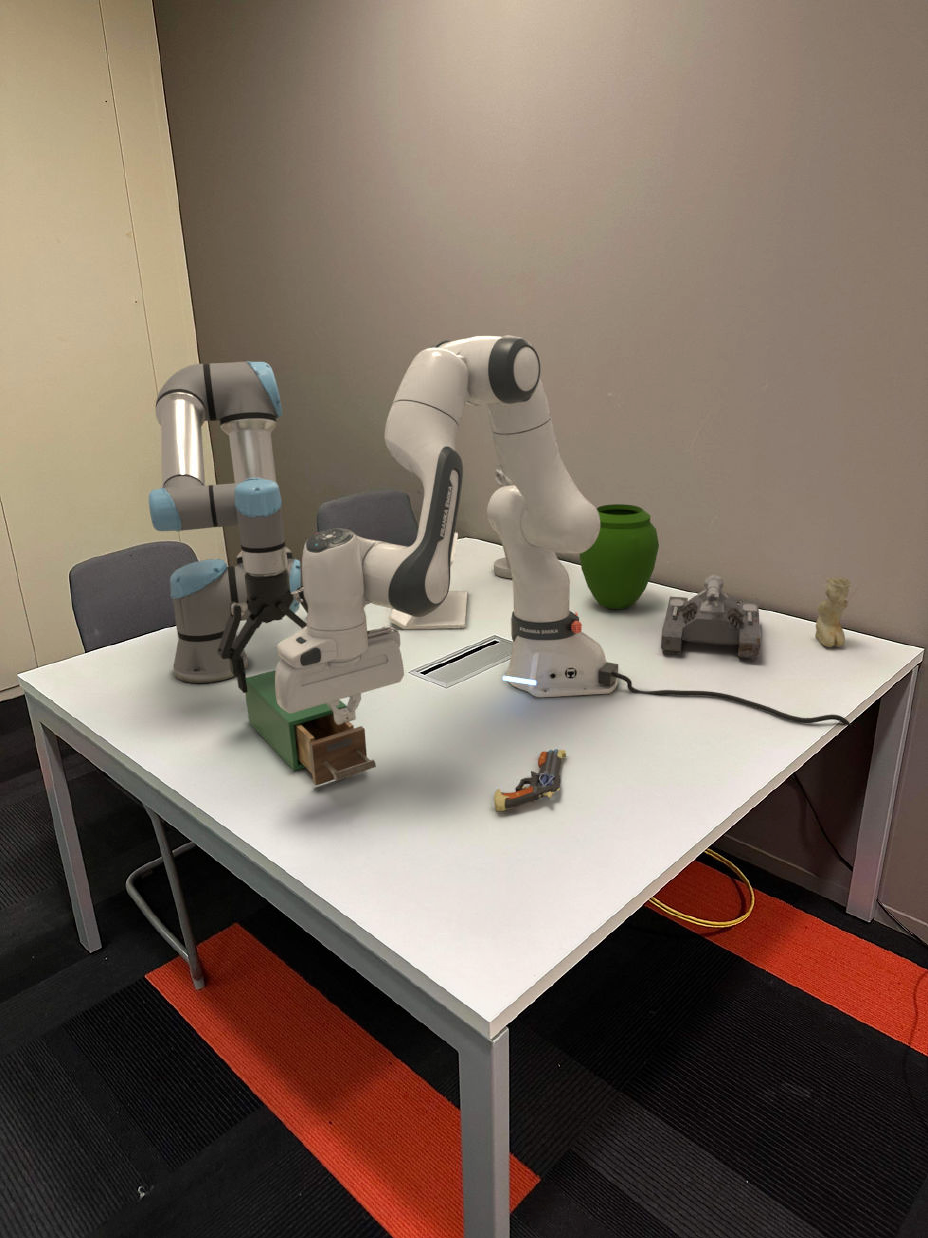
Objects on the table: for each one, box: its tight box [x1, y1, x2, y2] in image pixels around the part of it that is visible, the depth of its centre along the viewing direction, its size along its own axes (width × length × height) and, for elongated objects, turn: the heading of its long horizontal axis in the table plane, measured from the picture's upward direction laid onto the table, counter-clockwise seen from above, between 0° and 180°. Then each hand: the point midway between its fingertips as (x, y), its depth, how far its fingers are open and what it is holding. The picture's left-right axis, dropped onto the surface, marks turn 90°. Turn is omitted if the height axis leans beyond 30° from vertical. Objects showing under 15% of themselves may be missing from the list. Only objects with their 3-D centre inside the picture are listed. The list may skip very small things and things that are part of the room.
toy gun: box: [493, 748, 567, 812], centre depth 136 cm, size 3×19×10 cm
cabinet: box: [244, 669, 347, 772], centre depth 152 cm, size 22×10×9 cm, turn 33°
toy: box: [660, 574, 761, 660], centre depth 189 cm, size 25×20×15 cm
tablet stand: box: [388, 531, 468, 630], centre depth 211 cm, size 18×25×17 cm
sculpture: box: [814, 576, 852, 648], centre depth 185 cm, size 6×7×15 cm
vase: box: [578, 503, 660, 610], centre depth 210 cm, size 20×20×24 cm
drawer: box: [294, 714, 377, 786], centre depth 143 cm, size 26×9×7 cm, turn 33°
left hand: (278, 680), depth 157 cm, fingers open, 13 cm apart
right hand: (345, 721), depth 132 cm, fingers closed
